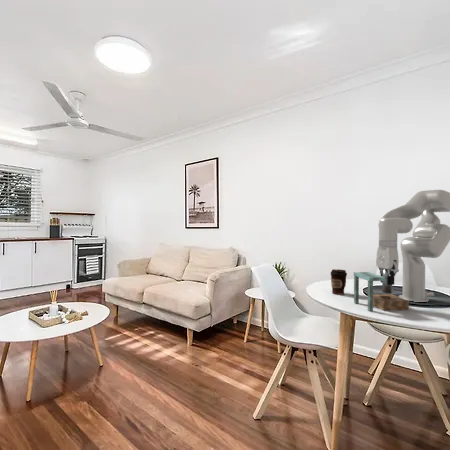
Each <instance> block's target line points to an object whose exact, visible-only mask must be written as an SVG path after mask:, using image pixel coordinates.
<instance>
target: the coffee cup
mask: <svg viewBox="0 0 450 450" xmlns="http://www.w3.org/2000/svg"><path fill="white" fill-rule="evenodd" d="M347 276H348V273H347V270H345V269H335V268H334V269H331V272H330V282H331V283H330V284H331V285H330V286H331V290H332V291H331V292H332V294H334V295H338V296H339V295H340V296H343V295H346V294H345V288H346V285H347Z"/></svg>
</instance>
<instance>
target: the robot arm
mask: <svg viewBox="0 0 450 450" xmlns="http://www.w3.org/2000/svg"><path fill="white" fill-rule="evenodd" d="M435 213H450V192H449V191H446V190H445V189H431V190H430V189H429V190H421V191H418V192H417V193H415V194H414V195H413V196H412V197H411V198H410V199H409V200H408V201H407V202H406V203H405V204H403V205H401V206H398V207H396V208H393V209H392V210H389V211H388V212H386V213H385V214H384V215H383V216H382V217H381V218H380V219H379V220H378V247H377V251H376V259H375V261H376V262H375V266H376V267H377V268H378V269H379V274H380V276H383V269H387V270H388V276H387V284H388V285H392V286H394V285H395V276H396V275H397V273H399V271H400V269H399V264H400V263H399V262H400V261H399V251H398V234H401V235H402V234H403V235H404V234H408V233H410V232H411V231H412V230H413V231H412V236H409V237H405V238H403V239H402V240H401V242H400V251H401V257H402V294H399V295H398V297H400V298H402V299H405V300H408V301H414V302H413V303H415V302H427V303H429V302H428V301H430V299H429V298H428V297H435V293H434V292H433V291H432V292H431V291H430V292H428V291H426V264H425V262H424V260H423V259H422V258H428V259H436V258H437V259H438V258H439V257H441V255H442V254H443V252H444V251H445V249H446V248H447V247H448V244H449V243H450V226H449V225H447V224H446V223H441V219H440V218H439V217H438V215H436V214H435ZM420 216H421V219H420V220H419V222H418V223H417V225H416V226H415V228H414V229H413V226H414V225H413V222H412V219H413V220H414V219H416V218H419V217H420ZM391 268H392V269H391ZM390 271H391V272H390ZM380 283H382V281H380Z"/></svg>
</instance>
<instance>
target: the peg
mask: <svg viewBox="0 0 450 450" xmlns="http://www.w3.org/2000/svg"><path fill="white" fill-rule="evenodd" d="M391 269H392V268H391ZM390 272H391V271H390ZM387 276H388V270H387V269H383V277H385V281H382V282H381V283H382V285H381V289H382V291H381V292H382V293H383V294H393V285H388V284H387Z"/></svg>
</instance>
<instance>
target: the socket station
mask: <svg viewBox="0 0 450 450" xmlns="http://www.w3.org/2000/svg"><path fill="white" fill-rule="evenodd" d="M360 279H363V280H366V281H367V311H368V312H374V307H375V308H378V309H380V310H381V311H409V310H410V309H409V308H410V302H409V301H408V300H405V299H402V298H400V297H399V296H397V295H395V294H393V293H382V294H381V293H380V294H378V293H377V294H374V282H381V281H385V277H383V276H381V275H379V274H376V273H372V272H371V271H357V272H356V271H355V272H353V303H354V304H355V305H358V304H359V302H360V301H359V300H360V299H359V296H360V294H359V293H360V292H359V291H360V288H359V286H360Z"/></svg>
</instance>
